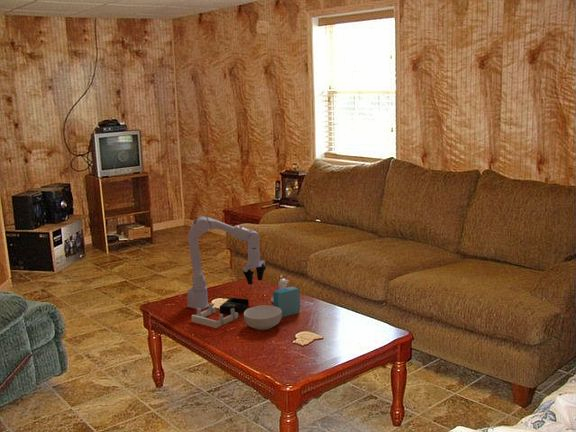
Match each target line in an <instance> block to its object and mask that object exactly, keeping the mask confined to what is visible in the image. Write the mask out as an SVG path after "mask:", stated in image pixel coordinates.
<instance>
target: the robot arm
mask: <svg viewBox="0 0 576 432" xmlns="http://www.w3.org/2000/svg"><path fill="white" fill-rule="evenodd" d="M215 229H217V230H221V231H223V232H226V233H230V234H231V235H232V237H233V238H237V239H239V240H242V241H244V242H246V241H247V261H248V263H247V264H246V265H245V266H244V267H243V268H242V274H243V275H244V277H245V278H246V282H247V284H248V285H249V286H251V285H253V279H254V278H253V277H254V274H255V272H254V271H252V270H254V269H255V270H256V276H257V280H258V281H262V280H263V277H264V273H265V271H266V269H267V266H266V260H261V254H260V241H261V237H260V234H259V233H258V232H257V231H255V229H251V228H246V227H243V225H242V224H239V225H237V224H236V225H235V226H232V225H230V224H227V223H225V222H222V221H221V220H217V219H215V218H212V217H206V216H205V215H200V216H198V217H197V218H196V219H194V220H193V222H192V224H191V227H190V229H189V231H188V233H187V238H188V246H189V247H188V248H189V252H190V254H189V255H190V259H191V260H190V261H191V267H192V268H191V269H192V273H193V274H192V277H191V278H192V279H191V281H192V287H190V288H189V289H188V290H187V305H186V306H187V307H188V308H191V309H194V310H197V308H201V311H202V310H205V309H206V308H209V301H208V300H209V299H208V298H209V297H208V287H207V282H206V278H205V275H204V274H203V268H202V262H201V261H202V259H201V252H200V245H199V238H200V237H201V236H202V235H203V234H205V233H207V232H209V230H210V231H212V230H215Z"/></svg>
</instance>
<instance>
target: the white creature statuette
mask: <svg viewBox="0 0 576 432" xmlns="http://www.w3.org/2000/svg"><path fill="white" fill-rule="evenodd" d="M279 279H280V280H279V281H278V284H277V286H278V287H279V288H278V290H280V289H284V288H287V286H288V283H289V282H290V280H289V279H286V278H279ZM270 302H271V303H273V304H274V301H273V297H271V298H270Z"/></svg>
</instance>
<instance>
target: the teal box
mask: <svg viewBox="0 0 576 432" xmlns="http://www.w3.org/2000/svg"><path fill="white" fill-rule="evenodd" d="M272 298H273V301H274V303H273V306H275V307H278V308H280V309H281V311H282V317H281V319H282V318H285V317H290V316H292V315H293V316H294V315H296V314H299V313H300V311H301V291H300V289H299V288H297V287H295V286H288V287H286V288H284V289H280V290H279V289H277V290H274V292H273V295H272Z"/></svg>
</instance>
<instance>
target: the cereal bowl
mask: <svg viewBox="0 0 576 432" xmlns="http://www.w3.org/2000/svg"><path fill="white" fill-rule="evenodd" d="M281 317H282V311H281V309H280V308H278V307H275V306H274V305H257V306H252V307H248V308H246V309H245V310H244V311H243V319H244V322H245V323H246V325H247V326H249V327H250V328H253V329H256V330H260V331H264V330H265V331H266V330H270V329H272V328H273V327H276V325H278V324H279V323H280V322H281V320H282V318H283V317H282V318H281Z"/></svg>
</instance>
